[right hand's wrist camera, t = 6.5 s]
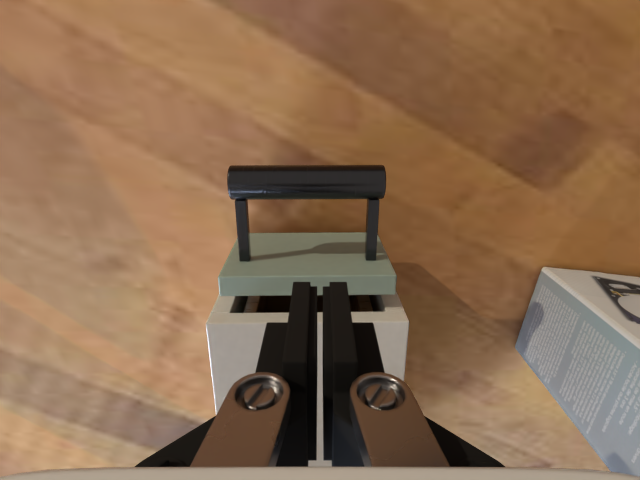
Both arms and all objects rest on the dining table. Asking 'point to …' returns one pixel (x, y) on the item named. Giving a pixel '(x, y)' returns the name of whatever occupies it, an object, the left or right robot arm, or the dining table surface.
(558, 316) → the hard drive box
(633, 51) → the dining table surface
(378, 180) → the drawer
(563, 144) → the dining table surface
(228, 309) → the cabinet
